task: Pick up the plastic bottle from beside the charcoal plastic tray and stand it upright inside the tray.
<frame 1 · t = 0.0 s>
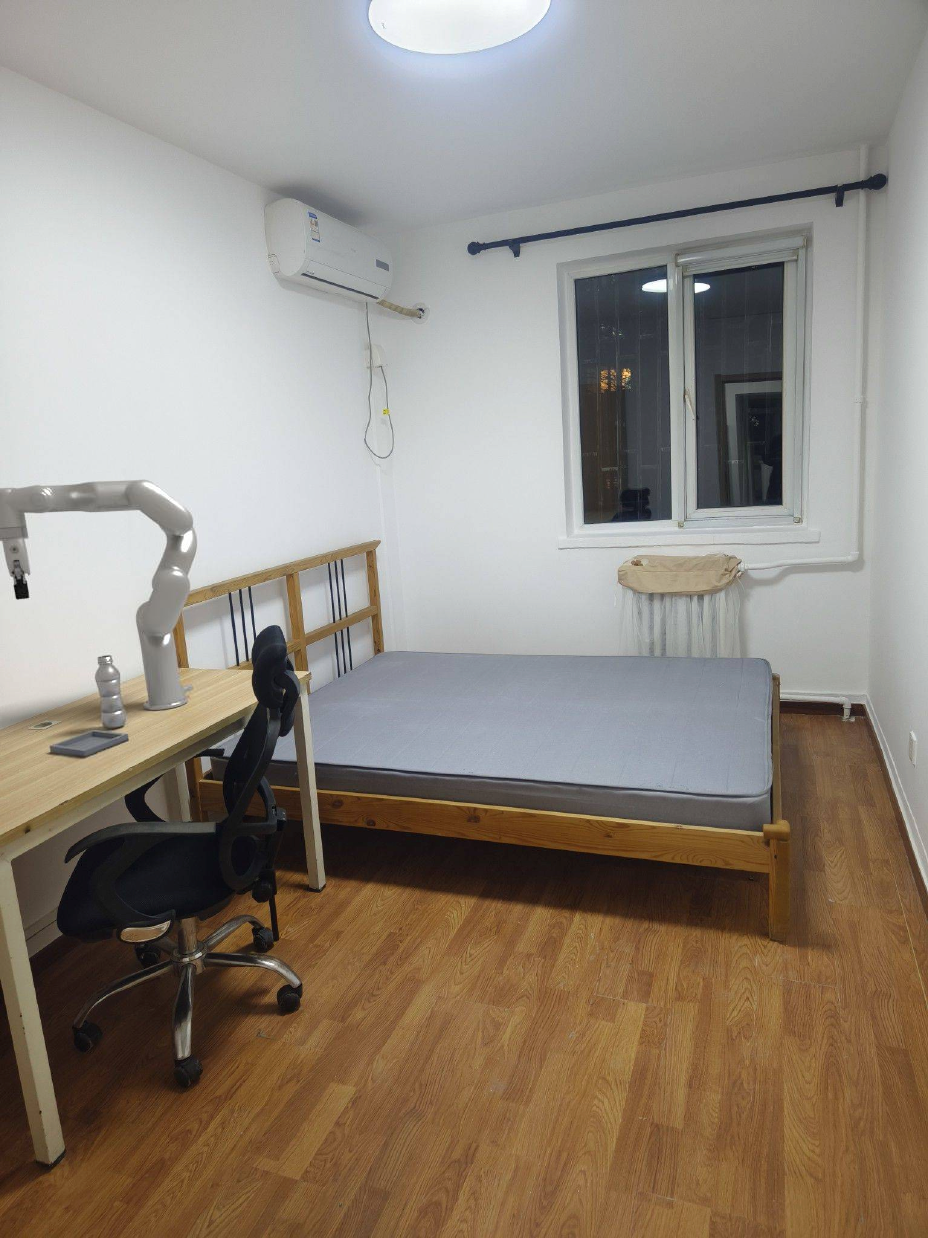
hand: (22, 596, 215), 37 cm above the table, tool pointing down, fingers open, 9 cm apart
charcoal tray: (90, 746, 202), on the table
plastic bottle: (115, 727, 217), on the table
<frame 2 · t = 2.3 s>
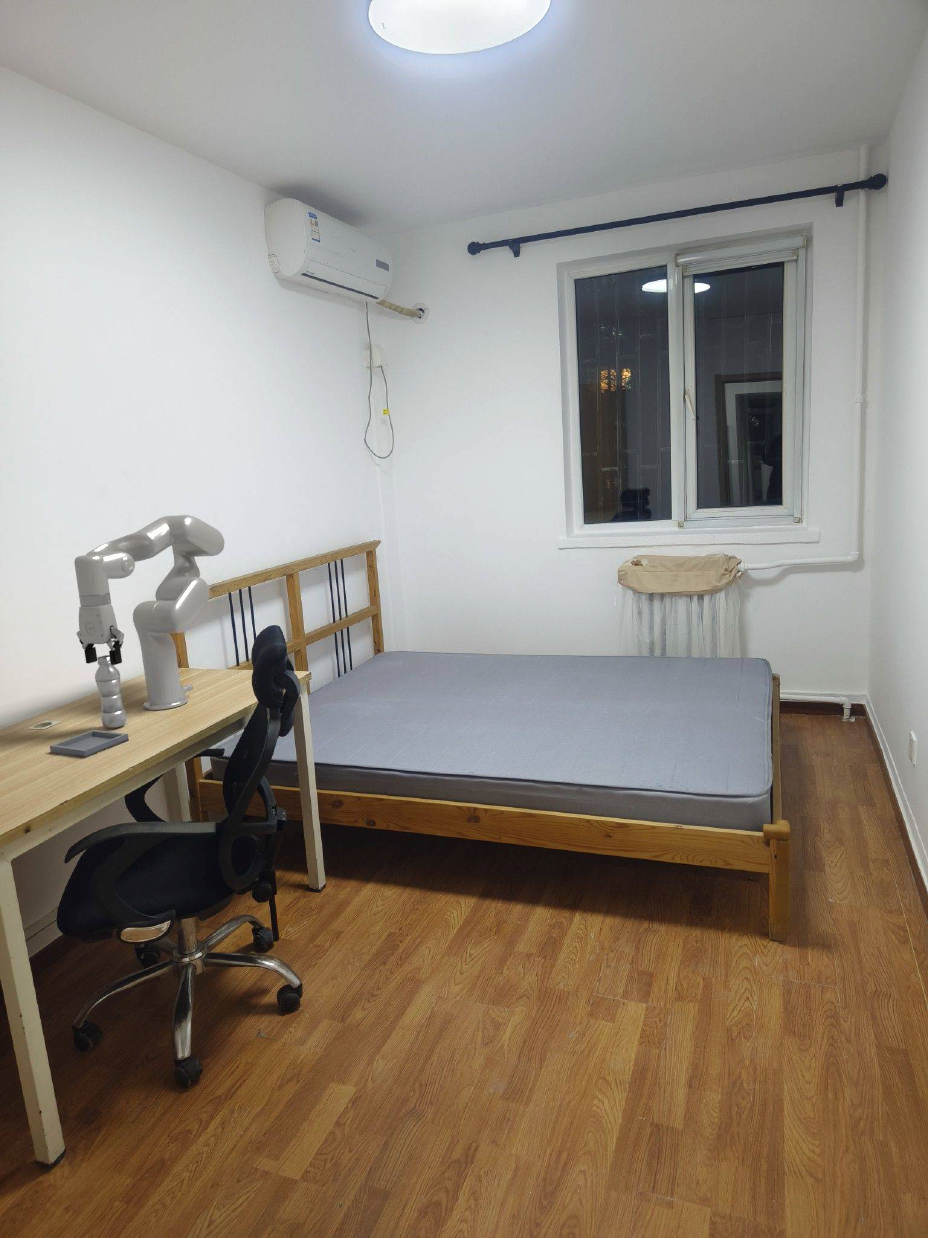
hand: (104, 663, 214), 18 cm above the table, tool pointing down, fingers open, 9 cm apart
nothing on the table moved.
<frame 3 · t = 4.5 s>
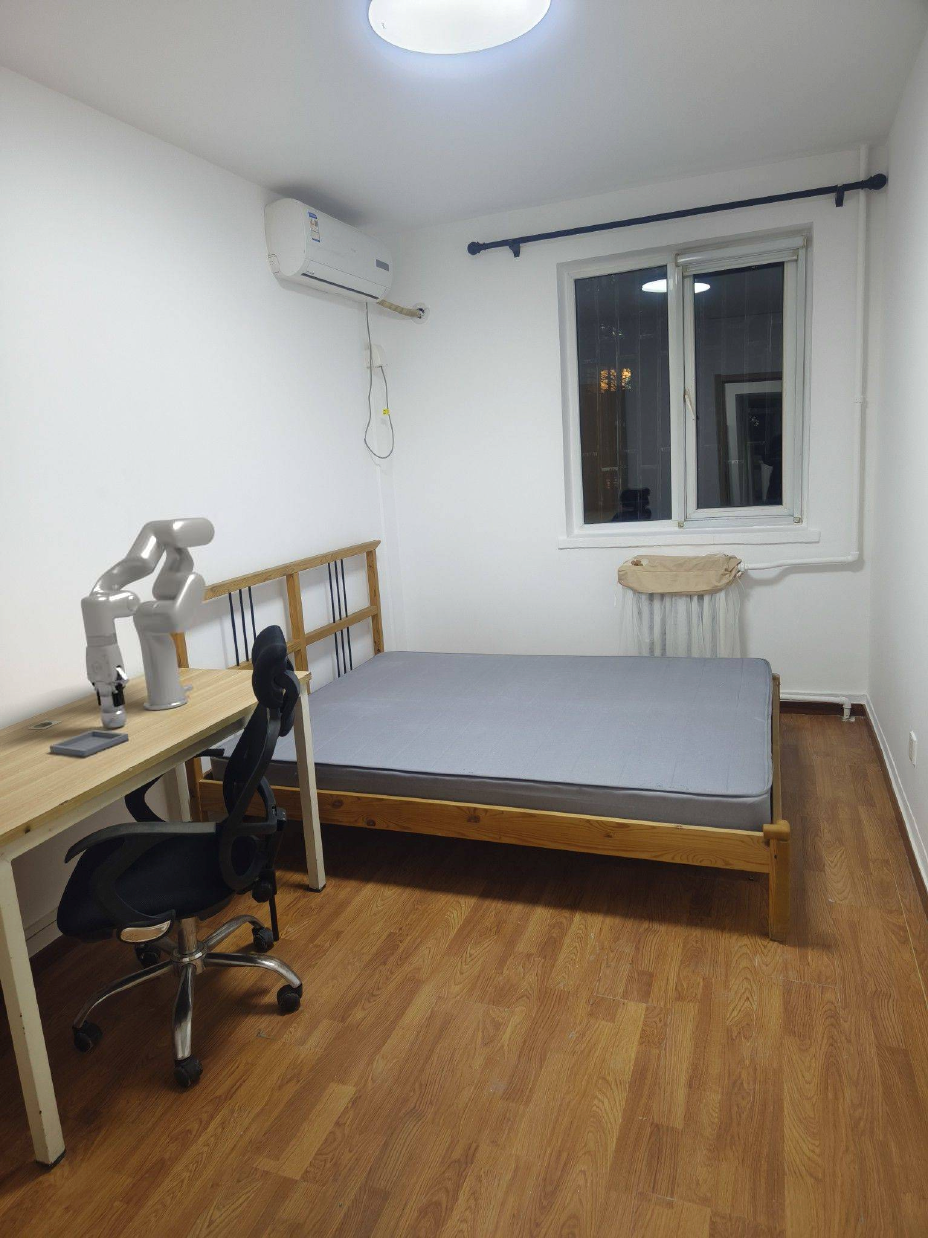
hand: (111, 704, 216), 6 cm above the table, tool pointing down, fingers closed on plastic bottle, 5 cm apart
plastic bottle: (115, 727, 217), on the table, touching gripper
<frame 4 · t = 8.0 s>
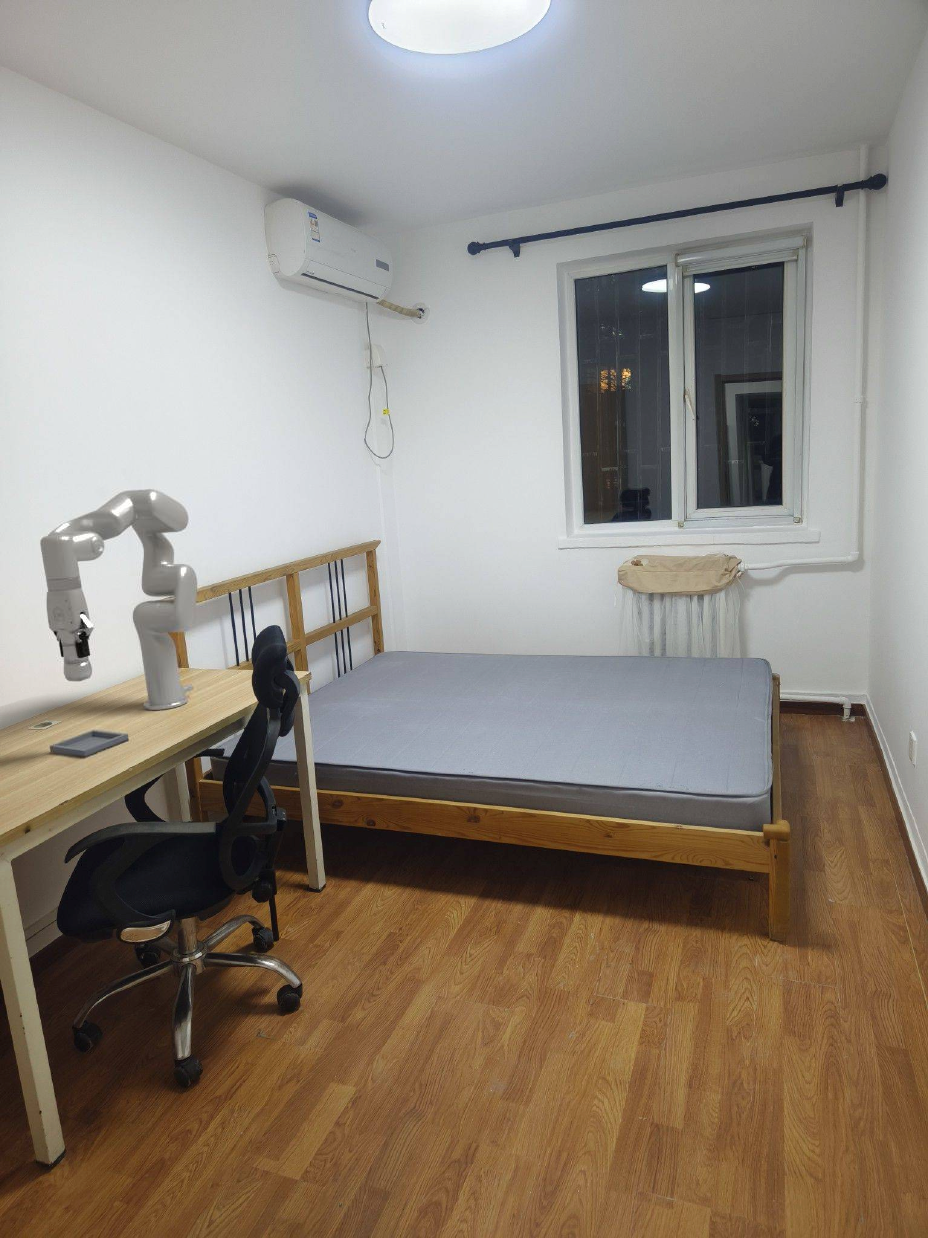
hand: (75, 655, 197), 24 cm above the table, tool pointing down, fingers closed on plastic bottle, 5 cm apart
plastic bottle: (79, 681, 199), point 17 cm above the table, touching gripper
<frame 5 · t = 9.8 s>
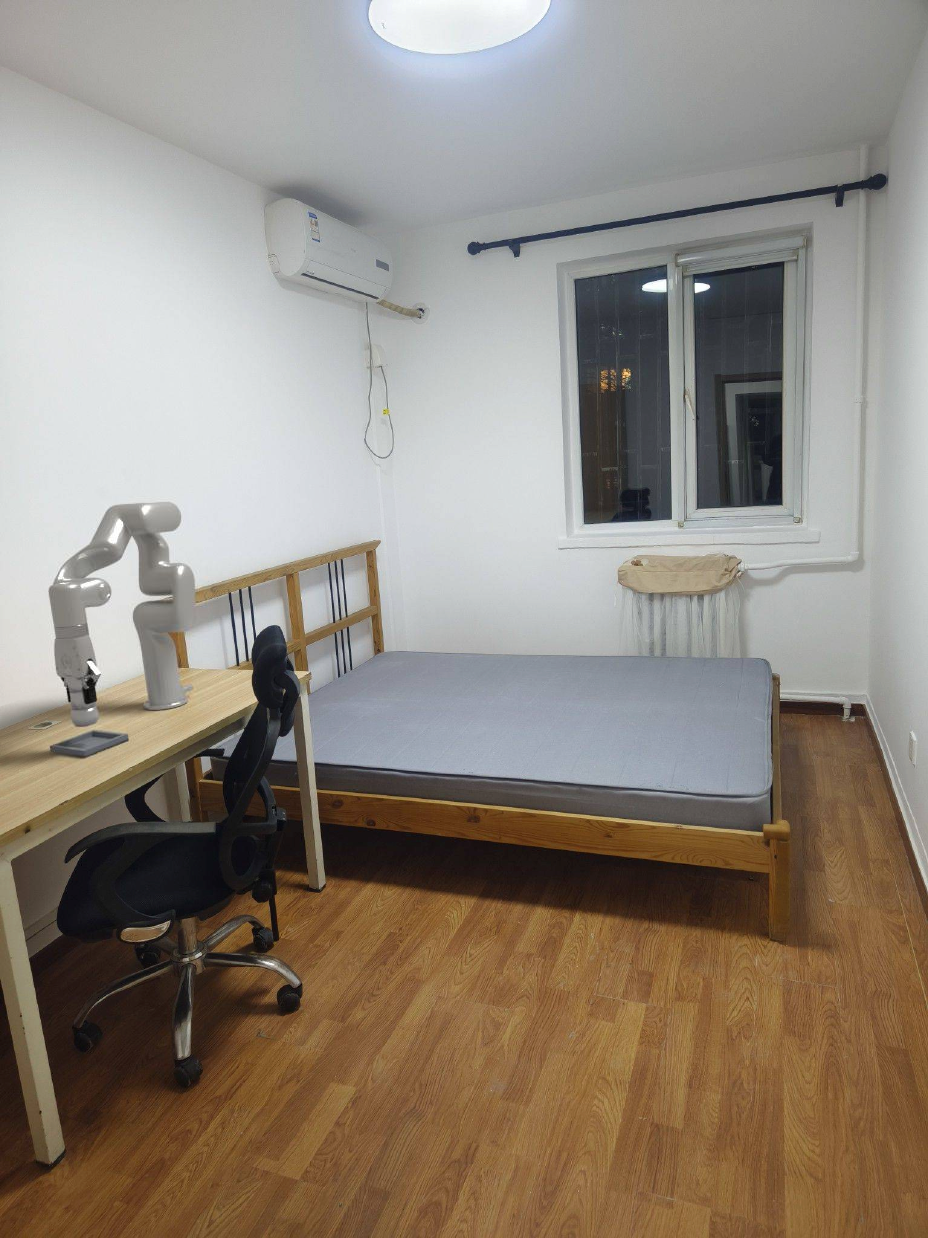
hand: (82, 701, 200), 12 cm above the table, tool pointing down, fingers closed on plastic bottle, 5 cm apart
plastic bottle: (86, 726, 201), point 5 cm above the table, touching gripper
when the fingers open (8 cm above the table, at t = 11.5 s): plastic bottle drops 1 cm, resting on charcoal tray.
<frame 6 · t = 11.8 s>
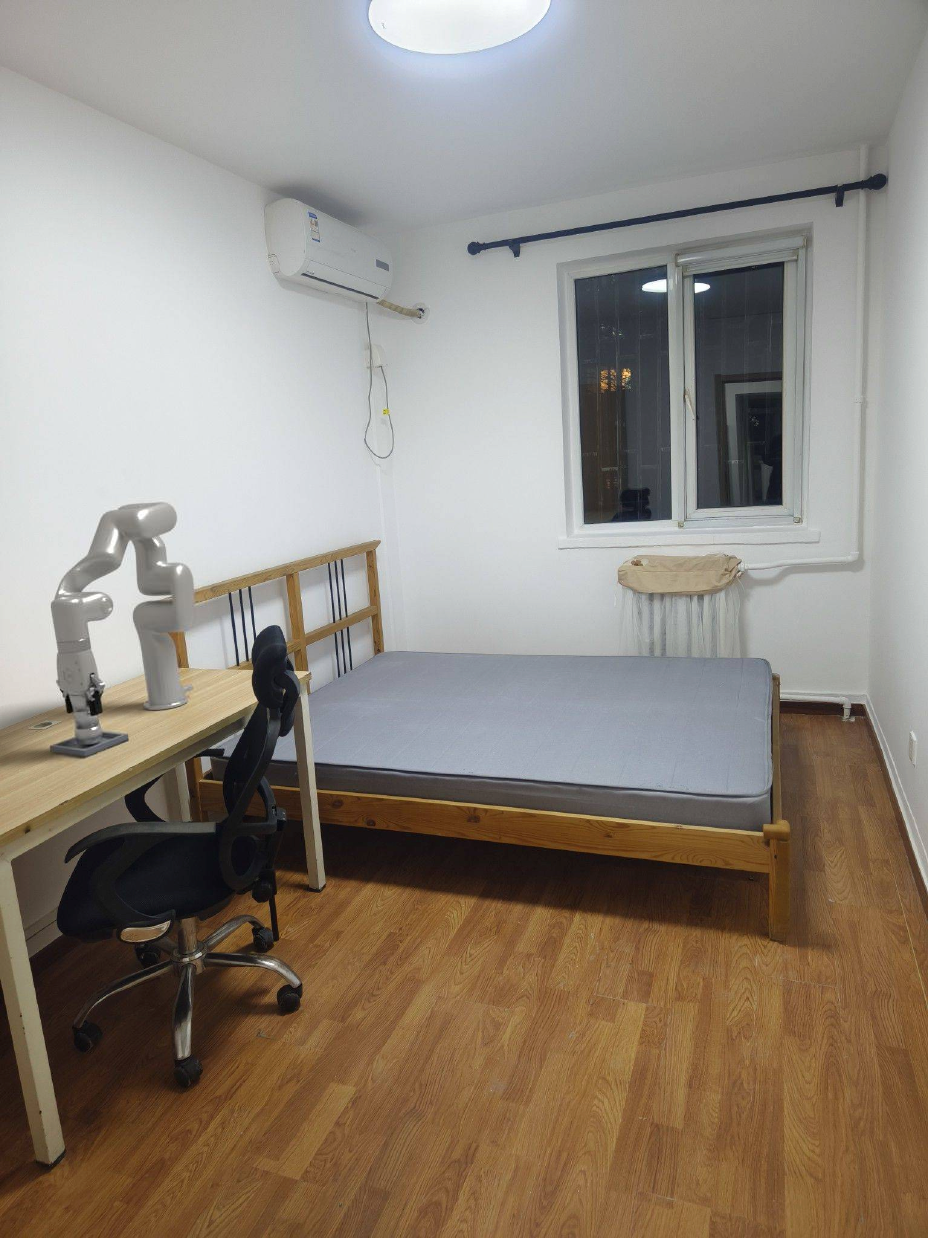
hand: (84, 712, 200), 9 cm above the table, tool pointing down, fingers open, 8 cm apart
plastic bottle: (90, 744, 202), resting on charcoal tray
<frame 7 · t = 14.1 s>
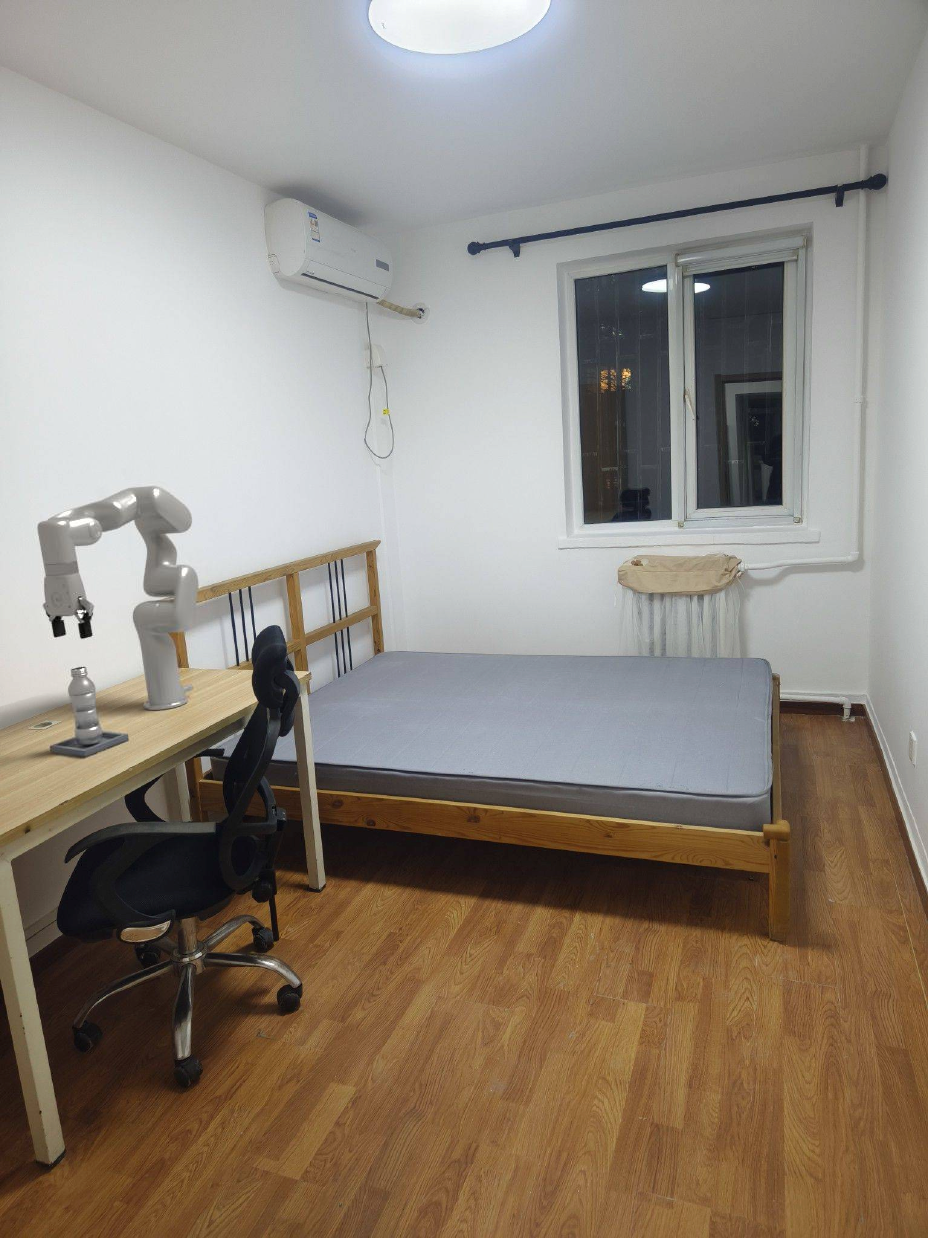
hand: (73, 636, 199), 28 cm above the table, tool pointing down, fingers open, 9 cm apart
nothing on the table moved.
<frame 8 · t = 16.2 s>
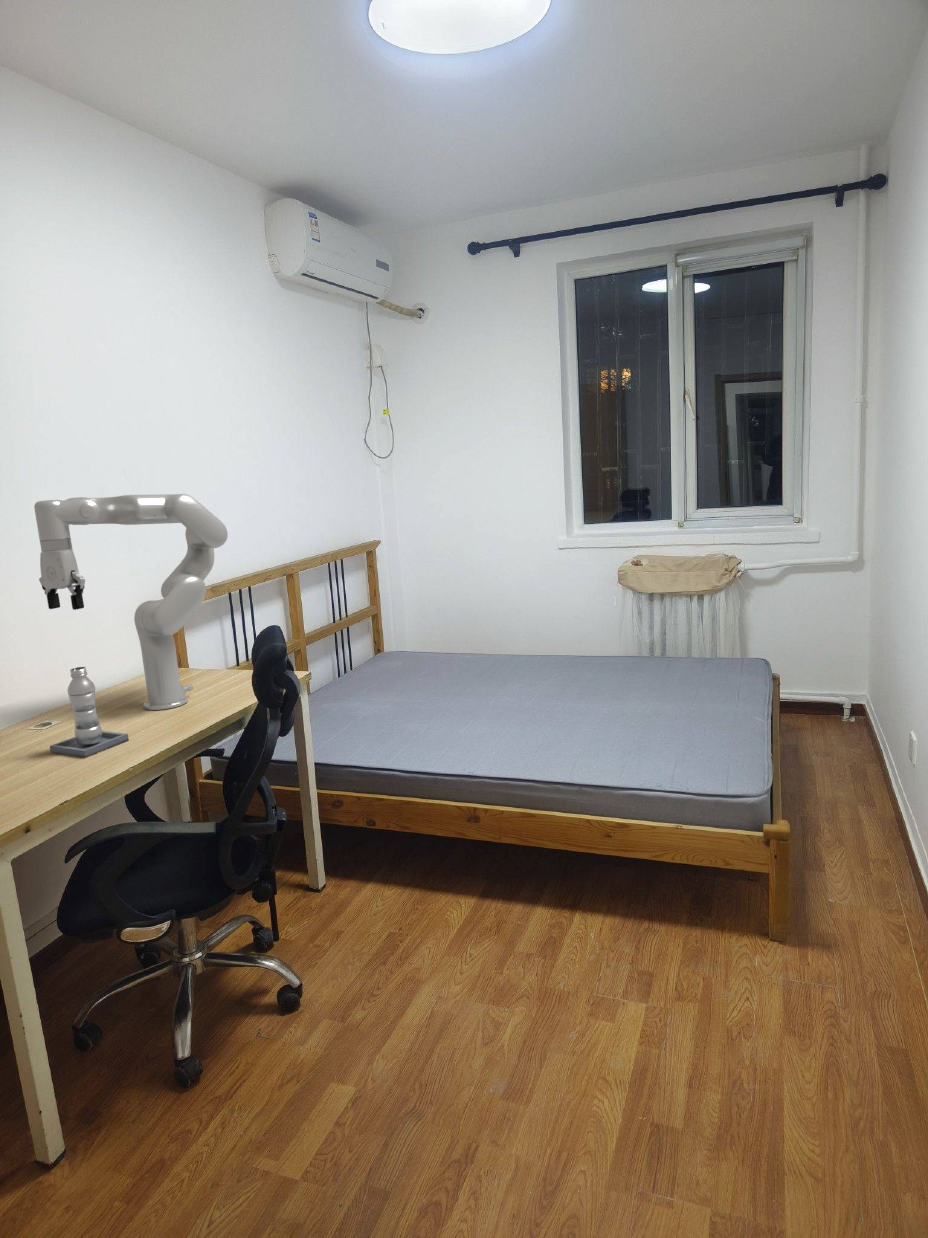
hand: (66, 608, 215), 33 cm above the table, tool pointing down, fingers open, 9 cm apart
nothing on the table moved.
at the end: plastic bottle 0.6 cm off-centre on the charcoal tray, point 0.3 cm above the charcoal tray's base; plastic bottle tilted 1°; the gripper is holding nothing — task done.
